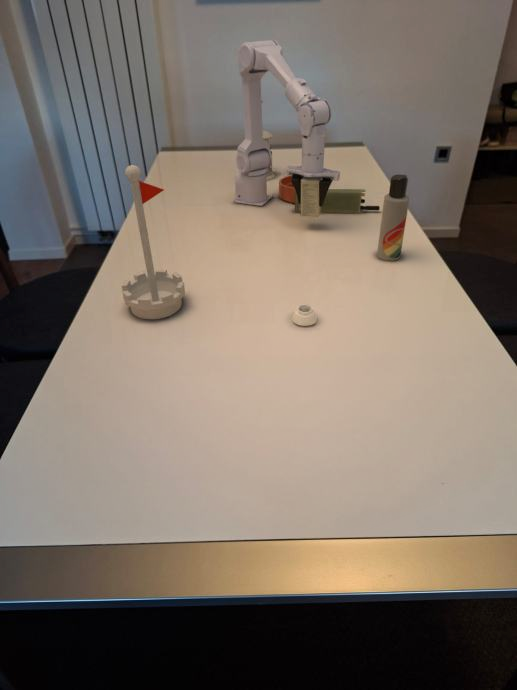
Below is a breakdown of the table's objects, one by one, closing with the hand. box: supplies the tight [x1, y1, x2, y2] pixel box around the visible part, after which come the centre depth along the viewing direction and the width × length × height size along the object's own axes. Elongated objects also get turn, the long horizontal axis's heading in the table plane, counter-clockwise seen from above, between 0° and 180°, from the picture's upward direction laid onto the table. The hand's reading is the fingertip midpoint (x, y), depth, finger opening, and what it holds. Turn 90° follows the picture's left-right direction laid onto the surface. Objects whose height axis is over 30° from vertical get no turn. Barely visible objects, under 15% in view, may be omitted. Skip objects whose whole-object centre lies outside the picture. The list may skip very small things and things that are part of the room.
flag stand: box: [121, 164, 186, 320], centre depth 99 cm, size 13×13×30 cm
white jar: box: [291, 304, 318, 327], centre depth 101 cm, size 5×3×5 cm
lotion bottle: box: [376, 174, 410, 262], centre depth 118 cm, size 6×6×20 cm
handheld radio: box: [294, 188, 381, 214], centre depth 146 cm, size 7×3×25 cm
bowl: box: [278, 175, 295, 204], centre depth 157 cm, size 13×13×5 cm
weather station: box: [261, 99, 276, 181], centre depth 170 cm, size 10×12×25 cm
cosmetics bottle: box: [300, 177, 322, 218], centre depth 134 cm, size 5×4×10 cm
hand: (310, 203), depth 135 cm, fingers closed on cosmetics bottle, 5 cm apart
